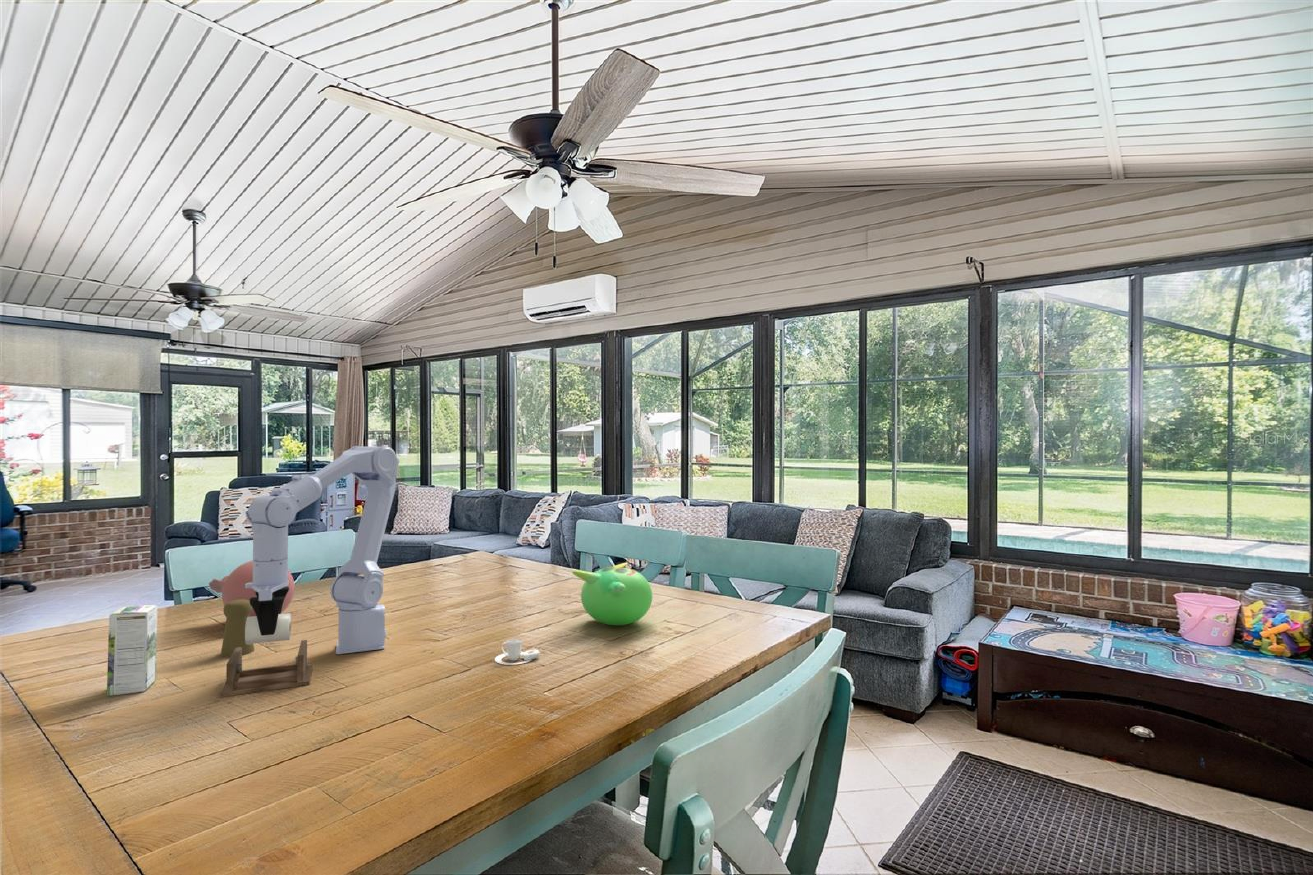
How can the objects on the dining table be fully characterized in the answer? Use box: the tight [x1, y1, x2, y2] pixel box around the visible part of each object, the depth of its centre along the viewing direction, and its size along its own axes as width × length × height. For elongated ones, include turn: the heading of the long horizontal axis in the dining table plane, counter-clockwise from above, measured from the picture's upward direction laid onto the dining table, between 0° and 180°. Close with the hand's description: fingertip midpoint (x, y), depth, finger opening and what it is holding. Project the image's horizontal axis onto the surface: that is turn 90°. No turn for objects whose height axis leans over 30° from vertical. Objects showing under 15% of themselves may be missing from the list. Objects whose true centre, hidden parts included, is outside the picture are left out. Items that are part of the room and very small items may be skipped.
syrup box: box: [106, 604, 159, 697], centre depth 118 cm, size 6×6×14 cm
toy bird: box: [571, 562, 653, 626], centre depth 161 cm, size 18×17×15 cm
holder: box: [219, 639, 314, 698], centre depth 122 cm, size 14×10×6 cm
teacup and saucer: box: [494, 638, 541, 666], centre depth 135 cm, size 9×8×4 cm
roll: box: [245, 612, 292, 645], centre depth 124 cm, size 7×5×5 cm
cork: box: [220, 599, 255, 658], centre depth 139 cm, size 6×6×11 cm
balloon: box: [208, 560, 296, 617], centre depth 162 cm, size 15×20×15 cm
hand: (269, 630), depth 124 cm, fingers closed on roll, 5 cm apart
